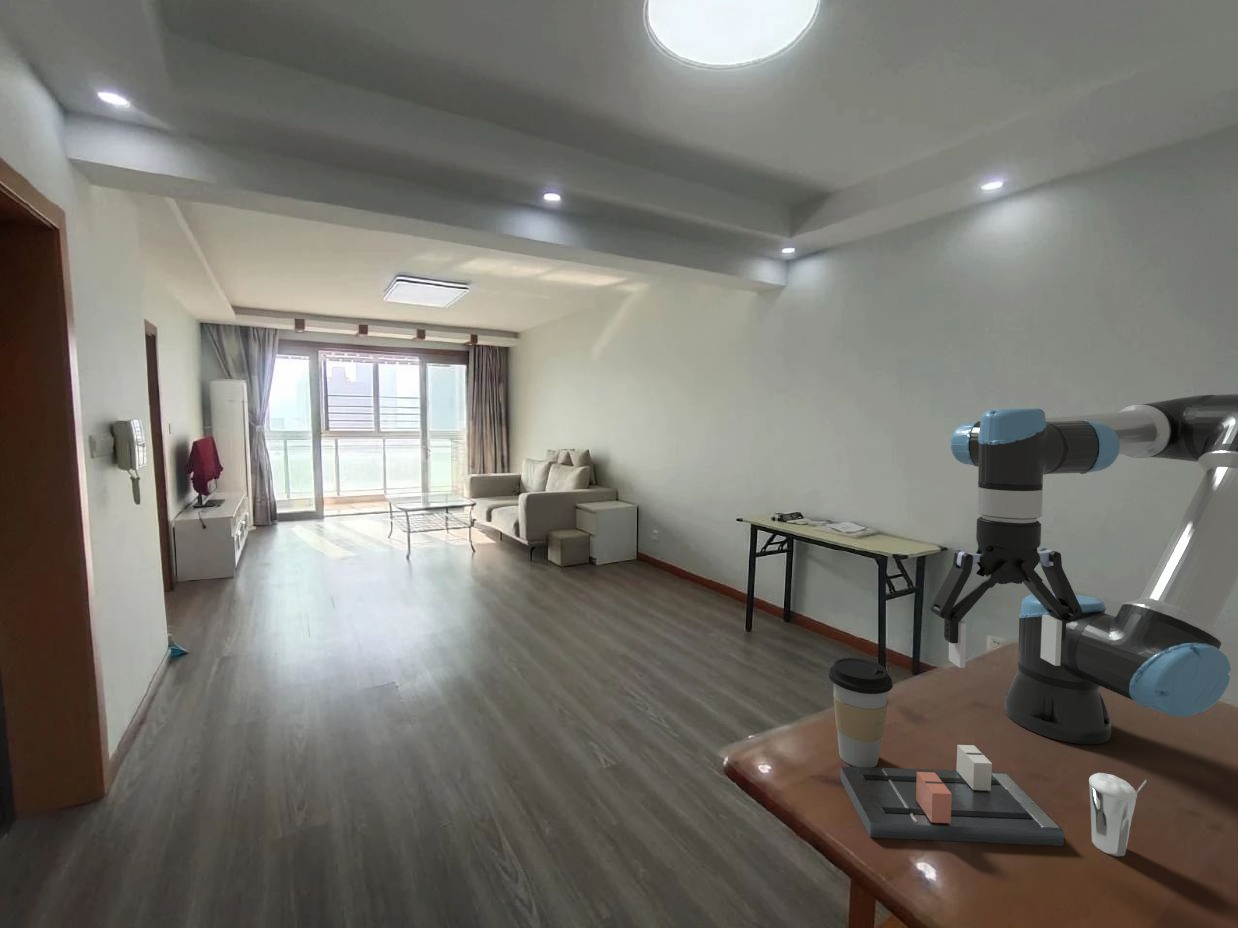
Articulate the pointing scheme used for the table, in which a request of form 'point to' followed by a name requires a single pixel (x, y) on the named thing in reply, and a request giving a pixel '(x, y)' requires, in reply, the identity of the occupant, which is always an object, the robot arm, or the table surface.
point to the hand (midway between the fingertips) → (1003, 662)
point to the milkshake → (1111, 812)
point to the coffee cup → (860, 708)
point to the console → (974, 813)
